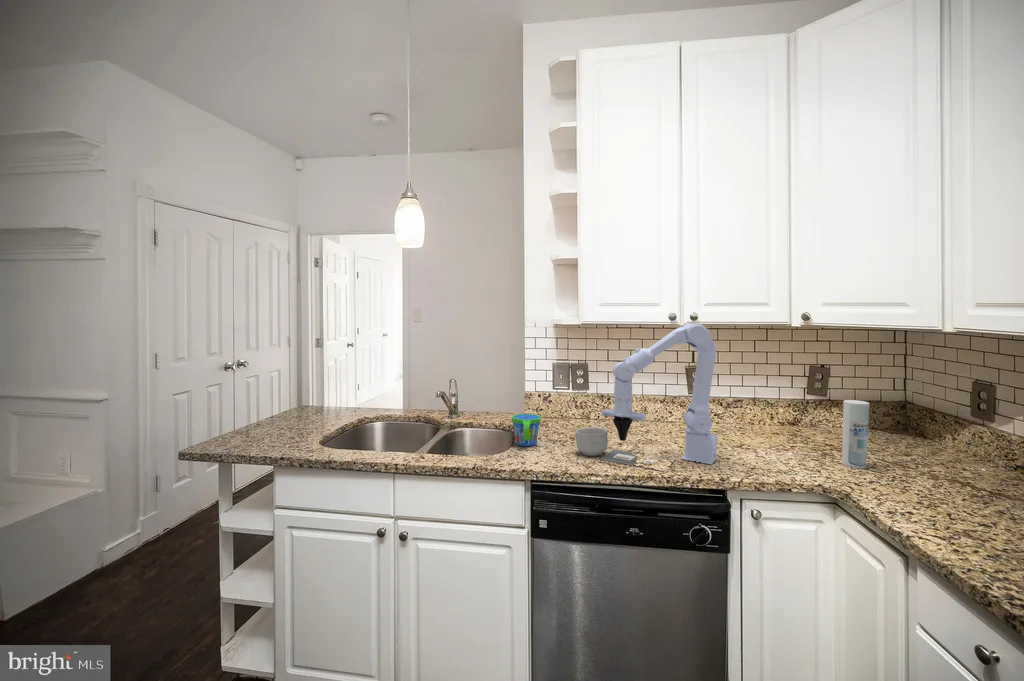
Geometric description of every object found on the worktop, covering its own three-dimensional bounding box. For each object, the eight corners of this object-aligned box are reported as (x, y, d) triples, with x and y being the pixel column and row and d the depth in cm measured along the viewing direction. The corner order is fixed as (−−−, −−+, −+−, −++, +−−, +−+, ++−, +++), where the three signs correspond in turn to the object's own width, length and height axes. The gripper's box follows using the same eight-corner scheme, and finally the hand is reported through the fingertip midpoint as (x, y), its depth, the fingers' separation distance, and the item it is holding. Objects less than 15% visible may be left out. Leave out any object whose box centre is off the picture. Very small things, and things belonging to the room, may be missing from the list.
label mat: (676, 460, 152) (676, 459, 152) (663, 471, 141) (663, 470, 141) (614, 449, 164) (614, 449, 164) (598, 459, 153) (598, 458, 153)
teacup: (594, 460, 152) (594, 436, 152) (568, 453, 160) (568, 429, 160) (619, 452, 162) (619, 428, 161) (593, 445, 170) (594, 423, 169)
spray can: (856, 462, 150) (859, 399, 149) (871, 468, 144) (874, 403, 143) (836, 462, 150) (838, 399, 149) (850, 468, 144) (853, 403, 143)
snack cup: (514, 438, 179) (514, 411, 179) (541, 439, 178) (541, 412, 177) (509, 450, 164) (509, 421, 163) (539, 451, 163) (539, 421, 162)
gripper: (597, 398, 155) (597, 439, 156) (640, 403, 147) (640, 446, 148) (606, 395, 161) (605, 434, 162) (648, 399, 153) (647, 441, 153)
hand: (622, 440), depth 155 cm, fingers closed
